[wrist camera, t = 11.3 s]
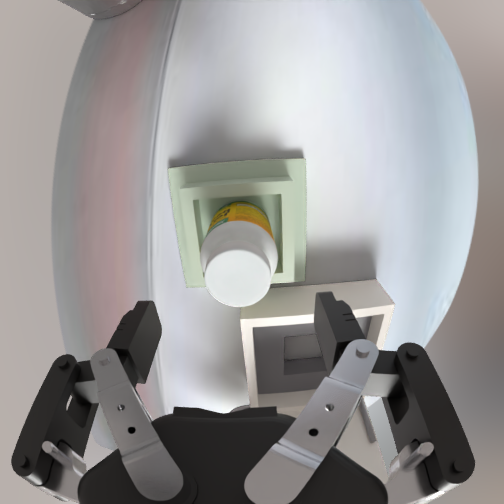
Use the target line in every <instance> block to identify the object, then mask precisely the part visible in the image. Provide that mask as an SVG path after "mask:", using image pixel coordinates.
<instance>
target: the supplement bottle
mask: <svg viewBox="0 0 504 504" xmlns="http://www.w3.org/2000/svg"><path fill="white" fill-rule="evenodd" d="M200 262H201V267H202V270H203V272H204V280H205V285H206V288H207V290H208V292H209V293H210V294H211V296H212V297H213V298H215V299H216V300H217V301H219V302H221V303H222V304H225V305H228V306H232V307H245V306H249V305H252V304H254V303H256V302H258V301H259V300H261V299H262V298H263V297H264V296H265V295H266V293H267V292H268V290H269V288H270V285H271V278H272V276H273V275H274V273H275V270H276V267H277V262H278V254H277V248H276V244H275V241H274V237H273V233H272V230H271V226H270V222H269V219H268V217H267V215H266V213H265V212H264V211H263V209H262V208H260V207H259V206H258V205H256V204H255V203H252V202H250V201H246V200H237V201H232V202H229V203H227V204H225V205H223V206H222V207H220V208H219V209H218V211H217V212H216V213H215V215H214V217H213V219H212V221H211V224H210V226H209V229H208V231H207V234H206V237H205V239H204V241H203V244H202V247H201V252H200Z"/></svg>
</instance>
